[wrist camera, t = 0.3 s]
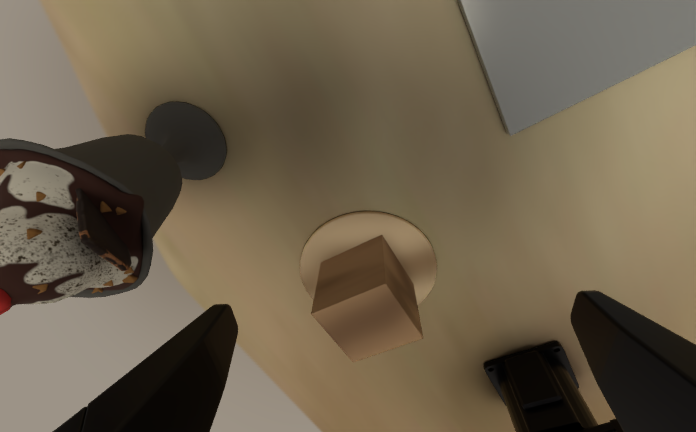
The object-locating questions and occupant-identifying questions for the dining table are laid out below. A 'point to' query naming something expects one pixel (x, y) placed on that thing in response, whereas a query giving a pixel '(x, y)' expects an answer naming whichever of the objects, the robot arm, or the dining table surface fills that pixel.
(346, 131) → the dining table surface
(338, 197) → the dining table surface
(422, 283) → the cork coaster
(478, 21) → the slate coaster
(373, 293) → the walnut block
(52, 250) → the sundae
